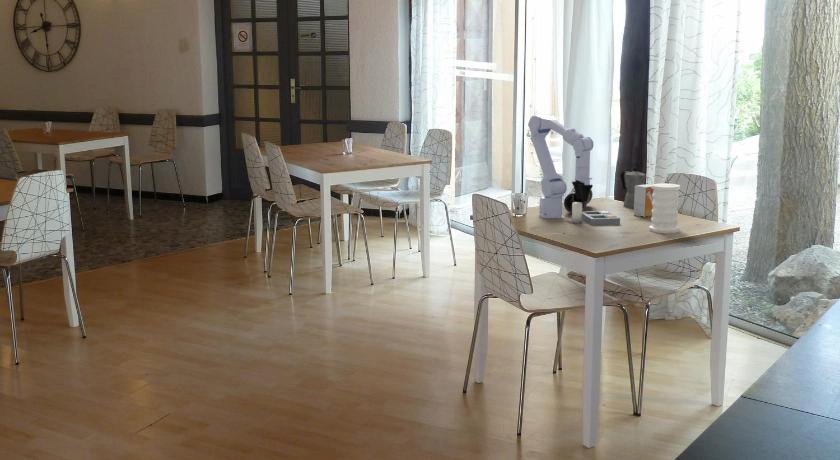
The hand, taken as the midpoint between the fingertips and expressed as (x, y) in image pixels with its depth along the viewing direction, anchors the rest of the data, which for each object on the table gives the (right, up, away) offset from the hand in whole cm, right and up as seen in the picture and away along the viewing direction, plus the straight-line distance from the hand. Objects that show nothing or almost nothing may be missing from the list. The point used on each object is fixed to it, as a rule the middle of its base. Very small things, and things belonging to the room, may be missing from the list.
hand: (581, 199), depth 385 cm
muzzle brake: (+4, -4, +30) cm, 31 cm away
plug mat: (-2, -10, 0) cm, 10 cm away
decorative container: (+30, -13, -15) cm, 36 cm away
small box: (+30, -6, +17) cm, 36 cm away
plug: (-2, -9, 0) cm, 9 cm away
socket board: (+8, -9, +3) cm, 12 cm away
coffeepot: (+30, -2, +40) cm, 50 cm away
